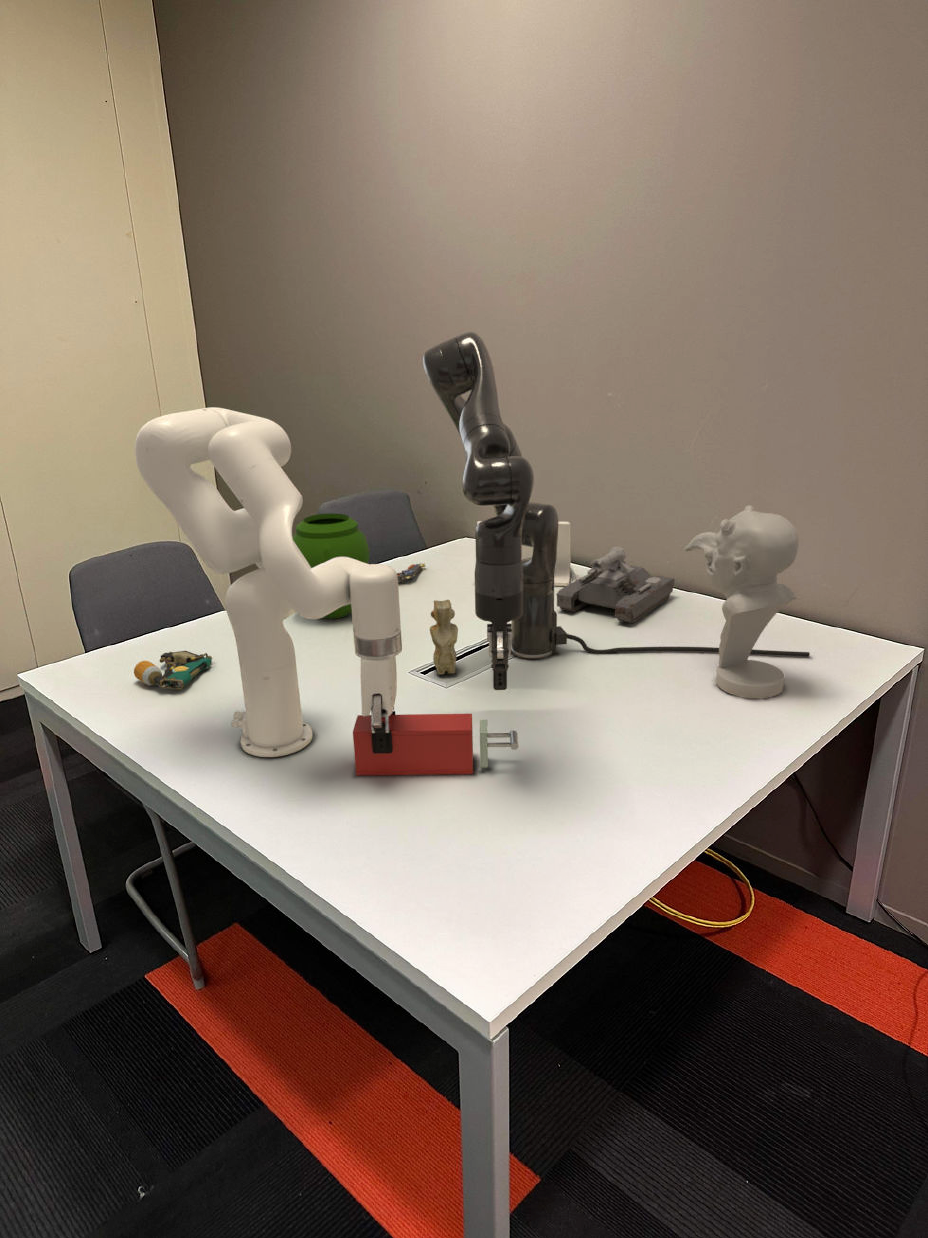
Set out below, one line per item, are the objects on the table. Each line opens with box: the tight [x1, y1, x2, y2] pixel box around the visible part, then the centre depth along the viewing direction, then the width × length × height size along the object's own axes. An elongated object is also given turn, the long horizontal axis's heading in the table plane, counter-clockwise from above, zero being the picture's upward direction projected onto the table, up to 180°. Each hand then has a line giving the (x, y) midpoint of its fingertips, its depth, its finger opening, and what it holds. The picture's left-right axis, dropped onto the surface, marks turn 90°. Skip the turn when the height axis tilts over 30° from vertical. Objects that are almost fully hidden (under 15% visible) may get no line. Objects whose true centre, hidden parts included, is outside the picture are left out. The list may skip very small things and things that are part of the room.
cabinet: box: [352, 713, 474, 776], centre depth 142 cm, size 19×6×8 cm, turn 89°
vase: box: [292, 512, 370, 620], centre depth 209 cm, size 20×20×24 cm
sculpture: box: [429, 599, 459, 675], centre depth 177 cm, size 6×7×15 cm
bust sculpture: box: [684, 505, 799, 699], centre depth 167 cm, size 16×24×35 cm
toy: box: [556, 546, 676, 624], centre depth 212 cm, size 25×20×15 cm
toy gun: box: [396, 562, 426, 583], centre depth 240 cm, size 3×19×10 cm
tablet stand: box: [476, 520, 572, 587], centre depth 236 cm, size 18×25×17 cm
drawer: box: [472, 719, 519, 768], centre depth 142 cm, size 23×5×6 cm, turn 89°
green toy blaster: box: [133, 650, 213, 690], centre depth 180 cm, size 4×17×15 cm
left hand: (384, 741), depth 142 cm, fingers closed on cabinet, 5 cm apart
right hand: (500, 688), depth 138 cm, fingers closed
